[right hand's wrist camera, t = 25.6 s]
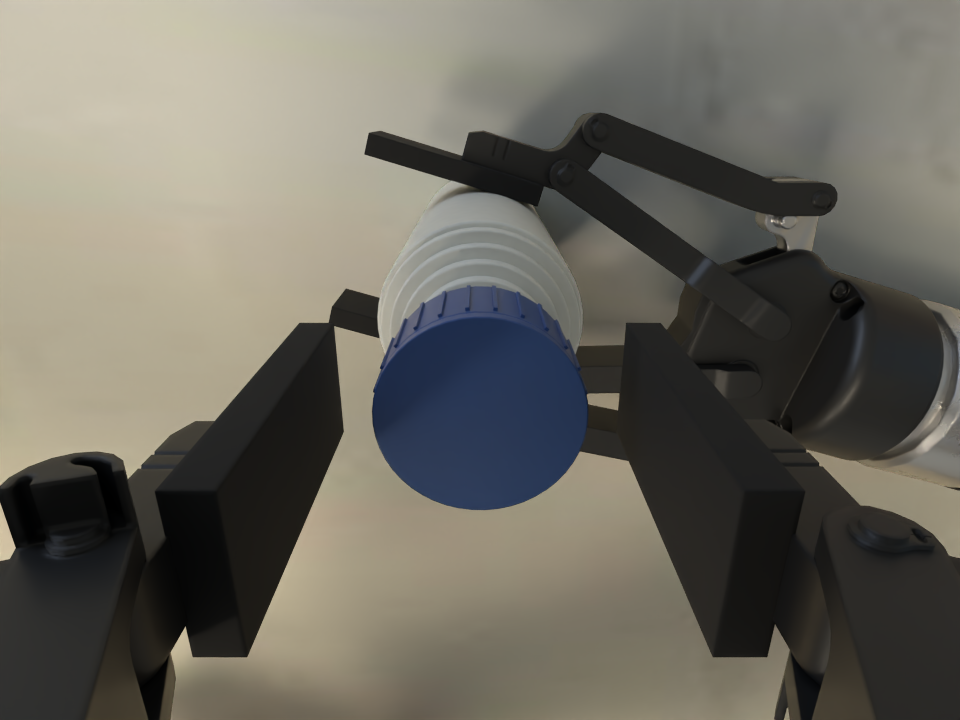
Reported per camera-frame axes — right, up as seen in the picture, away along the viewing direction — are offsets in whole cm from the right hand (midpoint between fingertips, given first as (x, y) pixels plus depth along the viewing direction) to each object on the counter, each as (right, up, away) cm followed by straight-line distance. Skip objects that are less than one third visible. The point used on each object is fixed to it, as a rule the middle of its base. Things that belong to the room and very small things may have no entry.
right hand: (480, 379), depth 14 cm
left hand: (-5, +6, +10) cm, 13 cm away
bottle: (0, +7, +17) cm, 18 cm away
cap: (0, -1, -2) cm, 2 cm away
